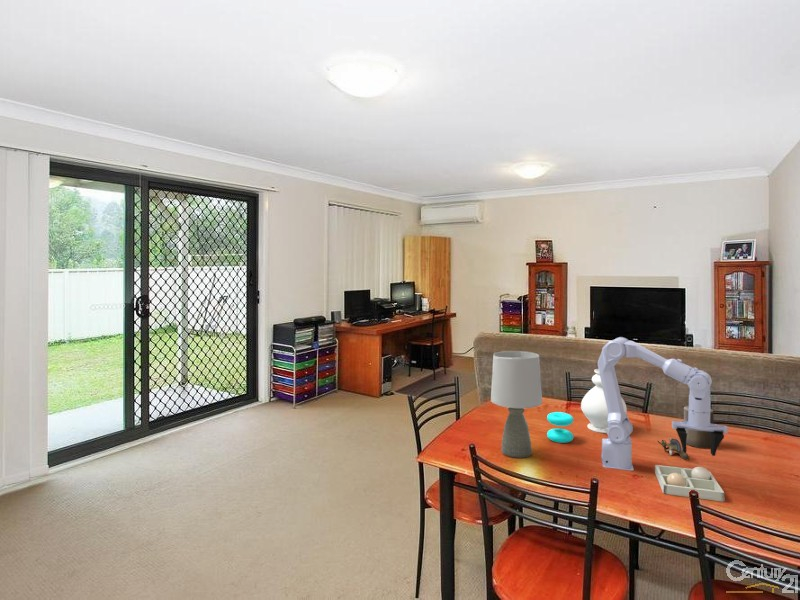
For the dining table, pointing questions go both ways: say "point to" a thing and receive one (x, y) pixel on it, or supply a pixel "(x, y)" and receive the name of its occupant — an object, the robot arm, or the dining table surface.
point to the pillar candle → (698, 433)
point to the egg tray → (689, 484)
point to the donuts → (558, 433)
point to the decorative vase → (597, 406)
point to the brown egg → (676, 480)
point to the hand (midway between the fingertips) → (698, 453)
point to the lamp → (516, 396)
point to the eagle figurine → (674, 447)
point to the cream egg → (700, 473)
